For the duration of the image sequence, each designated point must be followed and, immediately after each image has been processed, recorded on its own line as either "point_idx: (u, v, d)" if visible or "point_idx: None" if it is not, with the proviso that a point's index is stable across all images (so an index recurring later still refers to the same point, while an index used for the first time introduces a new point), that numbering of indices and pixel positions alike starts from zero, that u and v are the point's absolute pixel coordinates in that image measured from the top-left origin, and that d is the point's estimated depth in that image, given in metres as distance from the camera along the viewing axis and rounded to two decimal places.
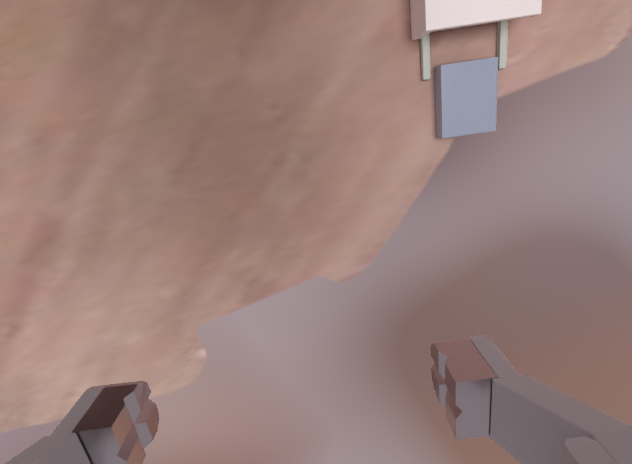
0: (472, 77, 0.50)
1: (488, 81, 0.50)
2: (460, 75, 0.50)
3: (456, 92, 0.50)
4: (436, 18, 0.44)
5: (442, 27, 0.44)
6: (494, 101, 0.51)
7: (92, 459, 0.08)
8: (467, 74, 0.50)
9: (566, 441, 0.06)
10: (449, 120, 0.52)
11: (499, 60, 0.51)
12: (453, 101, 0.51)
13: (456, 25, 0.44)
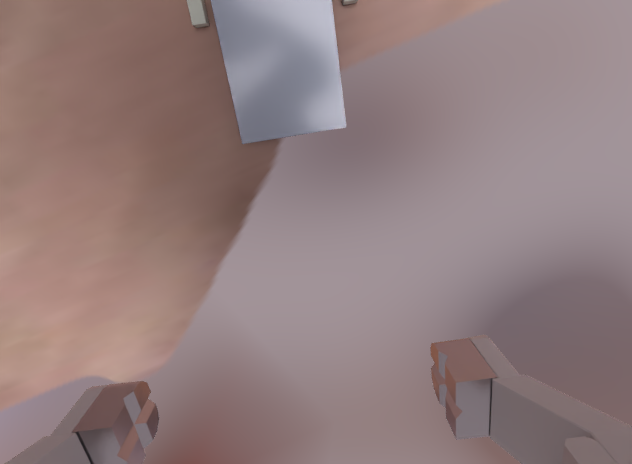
0: (281, 16, 0.24)
1: (316, 25, 0.24)
2: (254, 12, 0.24)
3: (252, 49, 0.24)
4: None
5: None
6: (334, 68, 0.25)
7: (92, 459, 0.08)
8: (269, 10, 0.24)
9: (566, 441, 0.06)
10: (249, 108, 0.26)
11: None
12: (249, 69, 0.25)
13: None
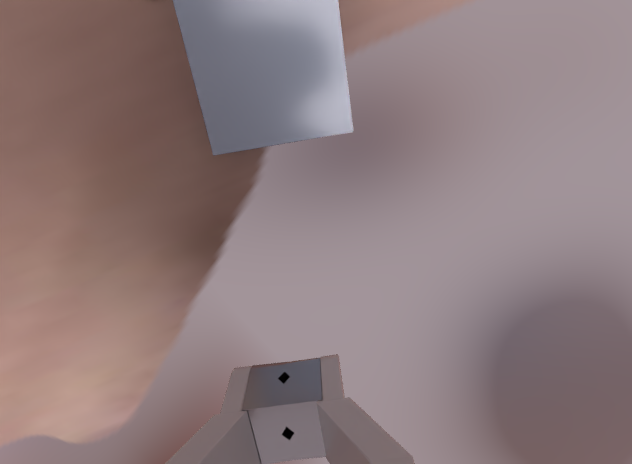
0: None
1: None
2: None
3: (223, 25, 0.18)
4: None
5: None
6: (337, 50, 0.18)
7: (257, 438, 0.08)
8: None
9: None
10: (221, 107, 0.19)
11: None
12: (219, 53, 0.18)
13: None
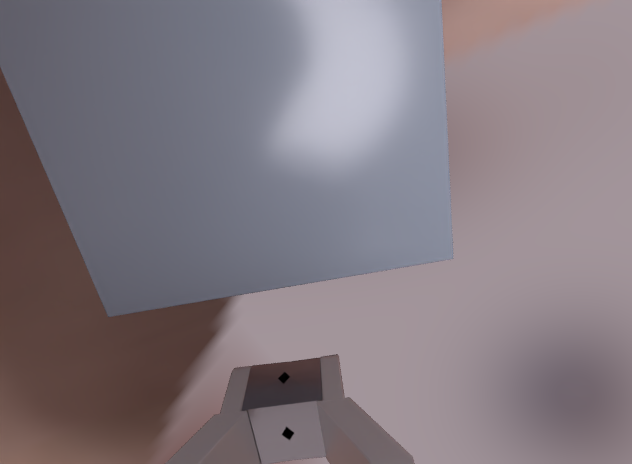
0: None
1: None
2: None
3: None
4: None
5: None
6: (425, 59, 0.06)
7: (257, 438, 0.08)
8: None
9: None
10: (116, 209, 0.07)
11: None
12: (96, 70, 0.06)
13: None
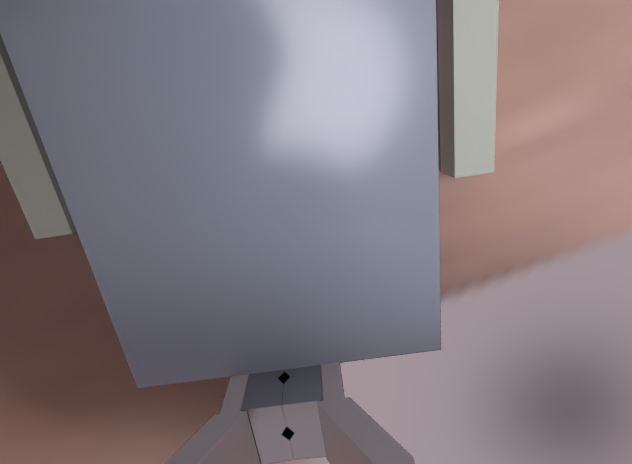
0: (245, 27, 0.07)
1: (374, 60, 0.07)
2: (146, 9, 0.06)
3: (149, 136, 0.07)
4: None
5: None
6: (423, 196, 0.08)
7: (257, 438, 0.08)
8: (202, 1, 0.06)
9: None
10: (151, 303, 0.08)
11: (454, 133, 0.09)
12: (144, 196, 0.08)
13: None
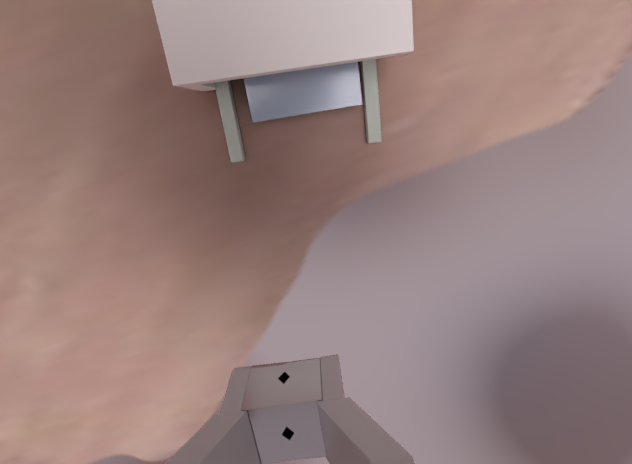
0: None
1: None
2: None
3: None
4: (190, 60, 0.21)
5: (207, 78, 0.21)
6: None
7: (257, 438, 0.08)
8: None
9: None
10: (260, 84, 0.25)
11: (368, 129, 0.27)
12: None
13: (236, 74, 0.21)
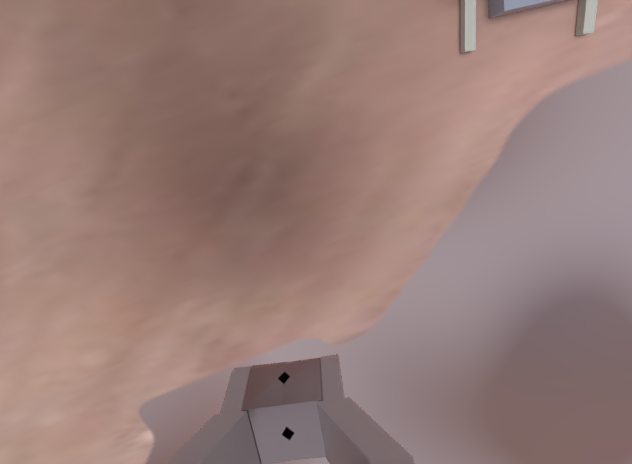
0: None
1: None
2: None
3: None
4: None
5: None
6: None
7: (257, 438, 0.08)
8: None
9: None
10: None
11: (584, 20, 0.32)
12: None
13: None
